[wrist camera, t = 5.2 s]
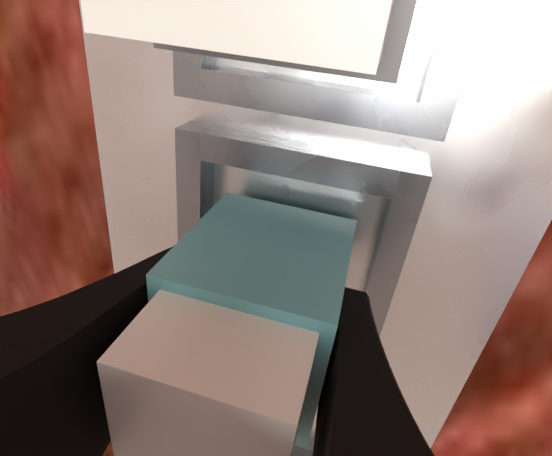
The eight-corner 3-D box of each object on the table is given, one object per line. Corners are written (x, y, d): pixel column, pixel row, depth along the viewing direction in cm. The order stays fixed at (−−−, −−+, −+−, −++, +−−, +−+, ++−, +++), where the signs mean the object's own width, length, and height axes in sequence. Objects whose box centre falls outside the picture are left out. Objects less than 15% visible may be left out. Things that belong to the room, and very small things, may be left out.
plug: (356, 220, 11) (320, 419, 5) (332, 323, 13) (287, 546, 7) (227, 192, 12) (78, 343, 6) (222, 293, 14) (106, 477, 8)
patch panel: (811, -307, 6) (923, -394, 5) (403, 487, 18) (404, 523, 17) (57, -288, 9) (-2, -342, 7) (137, 399, 20) (120, 424, 19)
